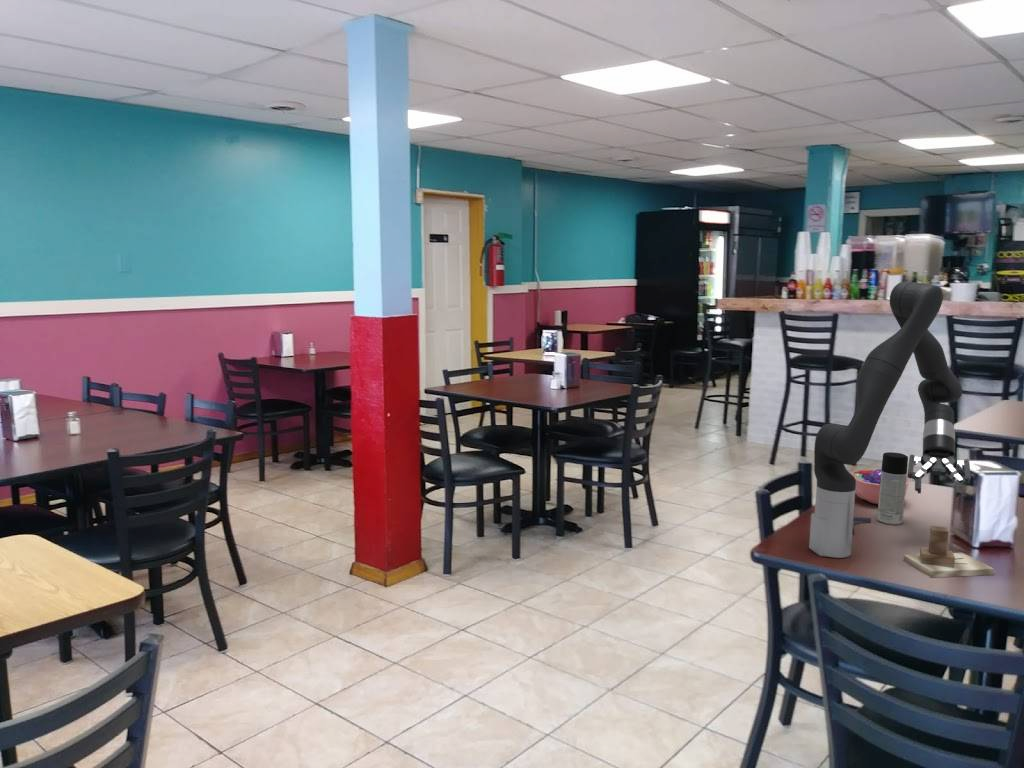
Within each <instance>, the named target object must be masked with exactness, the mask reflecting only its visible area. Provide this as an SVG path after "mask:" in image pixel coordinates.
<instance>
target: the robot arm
mask: <svg viewBox="0 0 1024 768" xmlns="http://www.w3.org/2000/svg"><path fill="white" fill-rule="evenodd" d="M943 300H944V293H943V290H942V288H941V287H940V286H938V285H936V284H932V283H923V282H916V281H915V282H914V281H900V282H899V283H897V284H895V286H893V288H892V290H891V292H890V295H889V307H890V309H891V313H892V315H893V316H894V318H895V321H896V322H897V324H898V326H899V328H900V329H899V330H897V331H896V332H895V333H894V334H893V335H891V336H890V337H889V338H887V339H885V340H884V341H883V342H881V343H879V344H878V345H877V346H876V347H874V348H873V349H872V350H871V351H870V352H869V353H868V355H867V356H866V357H865V359H864V362H863V364H862V365H861V367H860V369H859V371H858V373H857V376H856V385H855V387H856V398H857V399H856V400H857V403H856V408H855V411H854V414H853V416H852V417H851V420H850V421H849V423H848V425H847V426H845V425H841V424H836V423H827V424H824V425H823V426H821V428H820V427H819V430H818V432H817V434H816V435H815V436H816V437H815V440H814V449H813V451H814V457H813V458H814V465H813V466H814V469H813V470H814V471H813V472H814V475H815V479H816V488H815V489H816V490H815V505H814V512H813V513H811V515H810V529H809V542H808V543H809V544H808V548H809V549H810V550H811V551H812V552H813V553H816V555H818V556H819V557H829V558H839V559H841V558H848V557H850V556H851V555H852V548H853V547H852V544H853V543H852V542H853V535H852V531H853V527H854V525H853V517H855V516H854V515H855V501H856V493H855V490H856V480H855V478H854V477H853V476H852V475H851V472H850V471H848V469H847V467H846V466H845V465H847V466H848V465H849V466H852V465H854V464H857V463H858V462H859V461H861V459H862V458H863V457H864V455H865V453H866V451H867V450H868V449H867V448H868V446H869V445H870V442H871V440H872V437H873V434H874V431H875V430H876V427H877V423H878V422H879V420H880V417H881V415H882V413H883V411H884V409H885V408H886V407H885V406H886V404H887V402H888V401H889V399H890V397H891V395H892V393H893V391H894V390H895V388H896V386H897V384H898V382H899V381H900V379H901V377H902V375H903V373H904V371H905V369H906V367H907V365H908V363H909V361H910V359H911V357H912V355H914V356H913V357H914V358H915V362H916V366H917V368H918V372H919V375H920V376H921V377H922V378H923V380H921V382H919V384H918V387H917V393H918V396H919V399H920V401H921V402H920V403H921V404H922V407H923V411H924V414H923V415H924V423H923V424H924V425H923V426H924V427H923V432H922V456H921V457H920V456H919V457H918V456H915V455H914V454H910V455H909V457H908V465H907V477H908V478H909V479H913V480H914V491H915V492H917V494H921V493H922V479H923V478H925V477H926V476H927V475H929V474H931V476H937V475H939V476H943V477H945V476H947V477H948V478H949V479H951V480H953V482H954V483H955V487H954V488H955V489H954V490H955V491H954V493H955V495H954V497H955V498H960V497H959V496H962V494H963V485H964V484H966V485H969V484H970V482H971V478H972V477H971V467H970V466H971V465H970V460H969V459H968V458H964V460H957V458H956V431H955V412H954V409H953V408H952V407H951V406H950V405H948V404H946V403H955V402H957V401H959V400H960V398H961V397H962V395H963V394H962V393H963V388H962V385H961V382H960V381H959V380H958V378H957V376H956V375H955V374H954V373H953V371H952V369H950V366H949V364H948V361H947V358H946V355H945V351H944V348H943V346H942V344H941V343H940V342H939V340H938V339H937V338H936V337H935V336H934V334H932V332H931V331H929V328H930V327H931V325H932V323H933V322H934V320H935V318H936V317H937V315H938V313H939V311H940V309H941V307H942V304H943ZM918 463H920V464H921V465H922V467H921V468H920V469H919V470H918V471H917V472H914V466H917V465H918ZM957 466H958V467H959V468H960V470H962V472H963V473H962V474H963V476H961V474H959V472H958V470H957V469H956V468H957Z"/></svg>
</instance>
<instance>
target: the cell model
mask: <svg viewBox="0 0 1024 768" xmlns="http://www.w3.org/2000/svg"><path fill="white" fill-rule="evenodd" d="M881 469H882V468H877V469H869V470H868V469H866V470H865V469H864V470H861V469H859V470H854V471H851V472H850V474H851V475H852V476H853V477H854V478H855V480H856V490H855V495H856V496H857V497H858V498H860V499H861V500H864V501H867V502H869V503H871V504H873V505H878V504H879V492H880V481H881ZM910 481H911V480H910V478H908V477H906V488H905V497H906V495H907V492H908V488H909V487H908V486H909V484H910Z"/></svg>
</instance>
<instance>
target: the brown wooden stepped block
mask: <svg viewBox="0 0 1024 768" xmlns="http://www.w3.org/2000/svg"><path fill="white" fill-rule="evenodd" d="M929 531H930V532H929V542H928V547H925V546H920V548H919V549H920V550H919V554H920V560H921V563H922V564H929V565H937V566H944V567H952V568H954V562H955V557H954V554H953V553H954V552H953V550H947V549H948V541H949V539H948V538H949V530H948V527H946V526H938V525H937V526H936V525H930V529H929Z"/></svg>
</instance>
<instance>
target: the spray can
mask: <svg viewBox="0 0 1024 768" xmlns="http://www.w3.org/2000/svg"><path fill="white" fill-rule="evenodd" d="M908 466H909V456H907V455H906V454H904V453H901V452H889V451H888V452H884V453H883V454H882V461H881V468H880V469H881V481H880V492H879V504H878V507H877V521H878V522H879V523H882V524H886V525H894V526H895V525H896V526H897V525H901V524H902V523H903V520H904V510H905V498H906V496H905V488H906V477H907V475H908Z"/></svg>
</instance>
